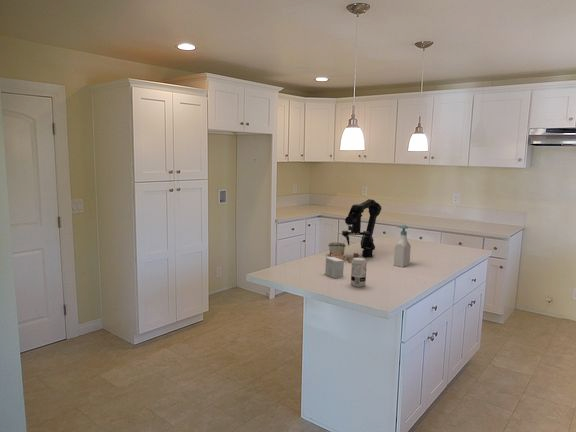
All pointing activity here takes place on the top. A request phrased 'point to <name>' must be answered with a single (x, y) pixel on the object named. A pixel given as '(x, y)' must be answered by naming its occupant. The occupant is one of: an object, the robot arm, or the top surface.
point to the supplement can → (358, 272)
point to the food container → (336, 248)
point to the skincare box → (334, 267)
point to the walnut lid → (355, 255)
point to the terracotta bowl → (338, 256)
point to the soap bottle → (402, 249)
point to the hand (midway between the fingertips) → (355, 245)
